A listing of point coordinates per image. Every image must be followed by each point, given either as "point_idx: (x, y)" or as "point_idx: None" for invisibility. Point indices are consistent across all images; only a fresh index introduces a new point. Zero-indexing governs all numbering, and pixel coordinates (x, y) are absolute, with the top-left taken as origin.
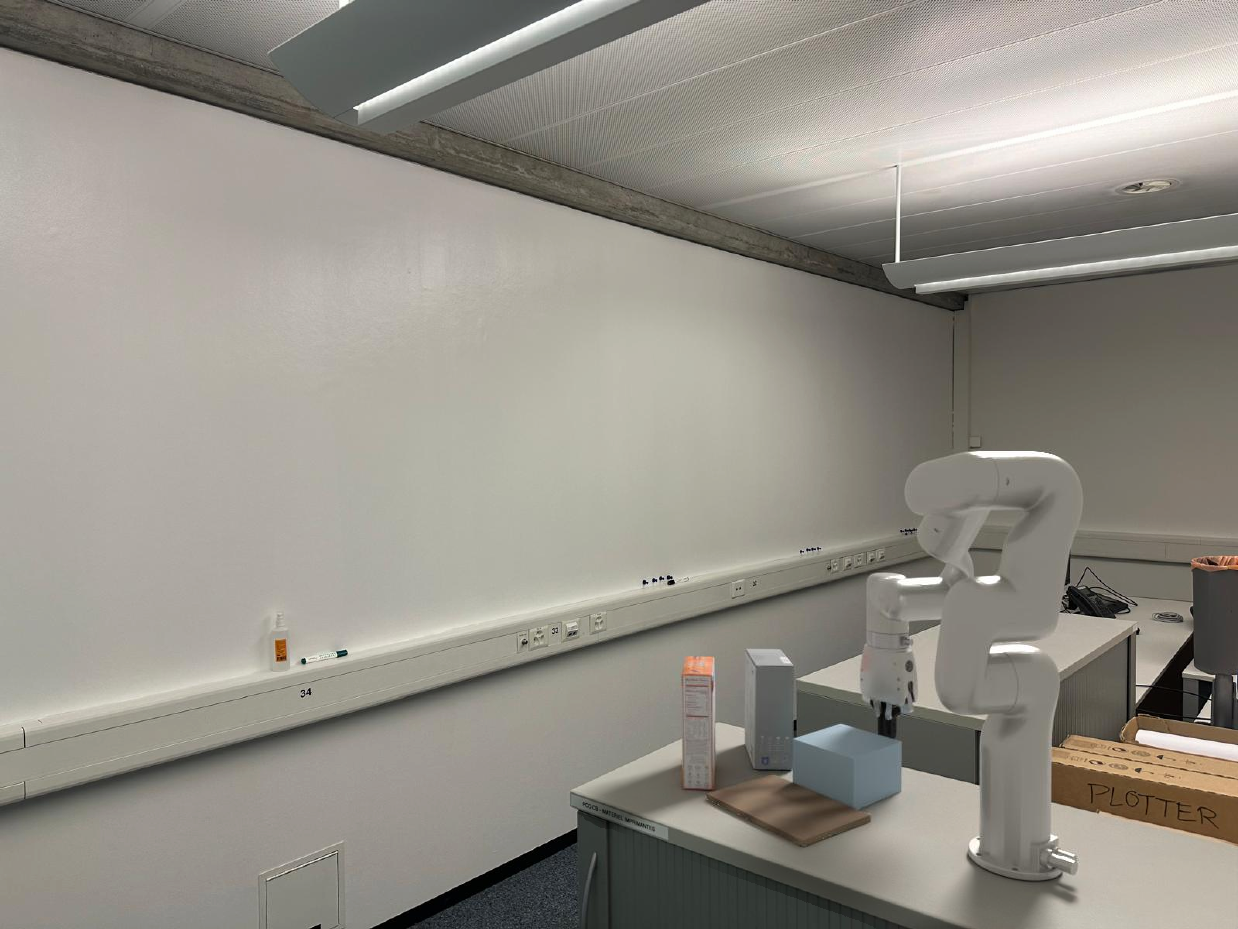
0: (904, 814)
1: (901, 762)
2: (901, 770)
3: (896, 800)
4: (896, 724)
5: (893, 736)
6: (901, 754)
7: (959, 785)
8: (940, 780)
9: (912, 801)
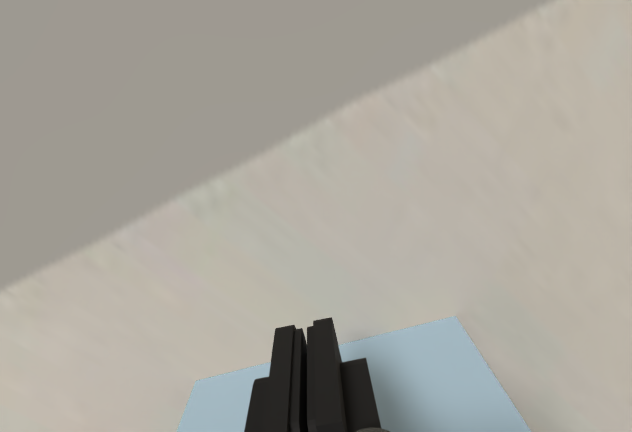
0: (594, 423)
1: (504, 391)
2: (488, 366)
3: (505, 379)
4: (375, 404)
5: (336, 343)
6: (524, 422)
7: (534, 55)
8: (450, 92)
9: (540, 340)
